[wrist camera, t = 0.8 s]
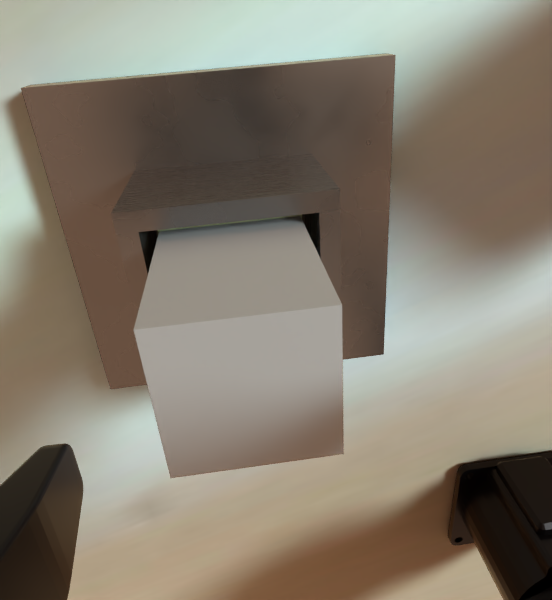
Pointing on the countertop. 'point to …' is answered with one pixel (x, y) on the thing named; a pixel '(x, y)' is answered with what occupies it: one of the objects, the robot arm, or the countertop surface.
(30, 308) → the countertop surface
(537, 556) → the robot arm
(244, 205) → the stand base
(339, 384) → the column
